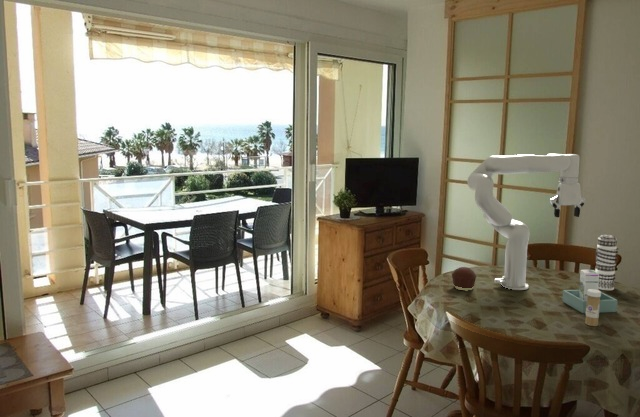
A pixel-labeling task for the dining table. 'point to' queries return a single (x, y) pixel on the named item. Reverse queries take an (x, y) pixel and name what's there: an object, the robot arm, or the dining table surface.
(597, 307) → the sprinkles bottle
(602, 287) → the decorative candle
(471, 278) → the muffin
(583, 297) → the syrup box
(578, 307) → the tote
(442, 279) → the dining table surface
